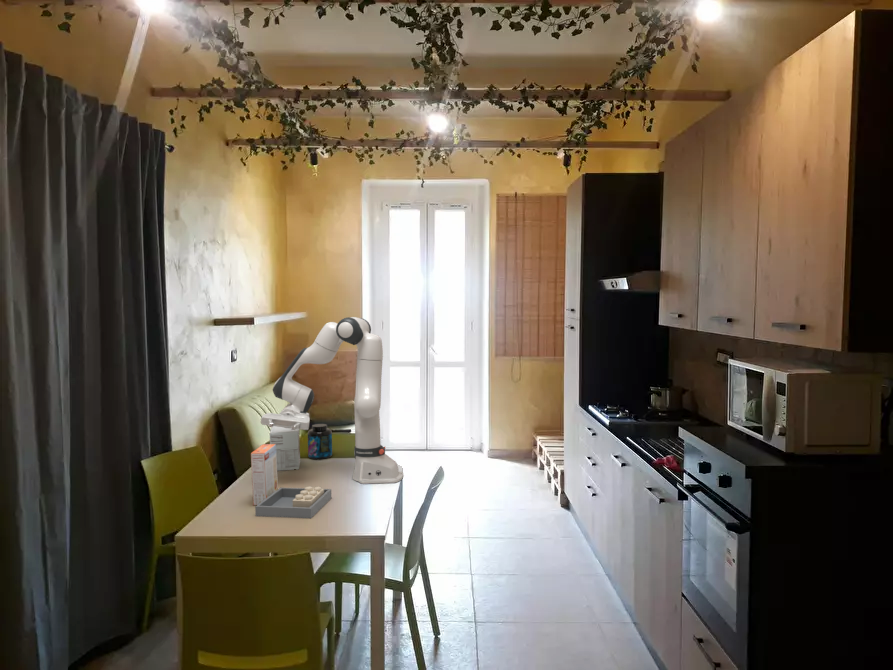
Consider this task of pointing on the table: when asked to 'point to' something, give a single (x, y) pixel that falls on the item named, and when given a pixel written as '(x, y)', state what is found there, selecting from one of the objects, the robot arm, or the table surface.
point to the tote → (289, 504)
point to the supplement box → (286, 447)
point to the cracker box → (264, 472)
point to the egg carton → (308, 496)
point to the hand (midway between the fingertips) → (281, 426)
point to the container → (319, 442)
